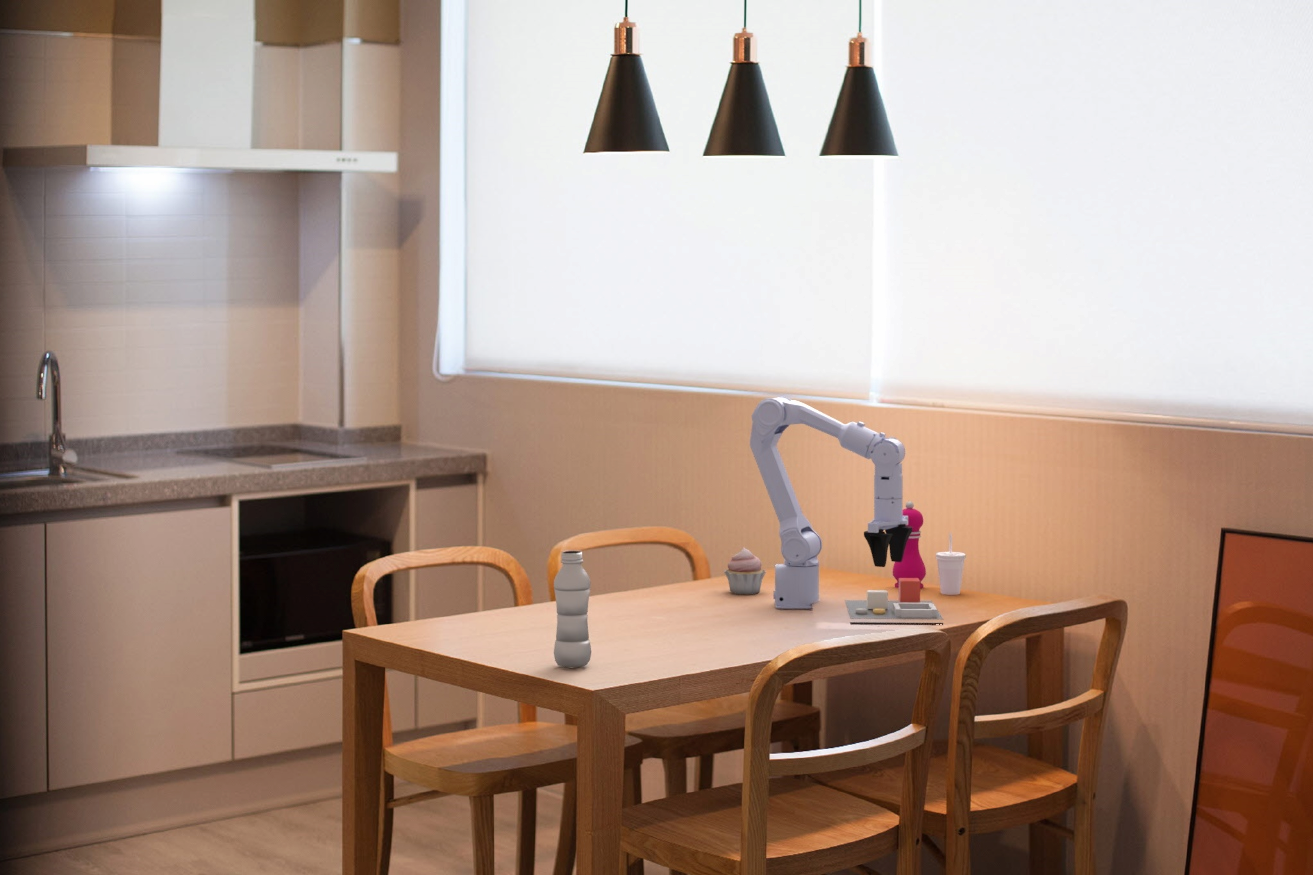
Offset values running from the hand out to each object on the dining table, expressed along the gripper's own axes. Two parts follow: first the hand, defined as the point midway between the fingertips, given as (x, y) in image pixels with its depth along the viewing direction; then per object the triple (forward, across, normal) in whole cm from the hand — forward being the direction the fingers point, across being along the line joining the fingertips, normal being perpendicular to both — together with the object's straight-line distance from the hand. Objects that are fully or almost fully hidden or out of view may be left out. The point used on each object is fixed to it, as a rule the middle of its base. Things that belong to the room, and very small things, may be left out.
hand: (888, 564), depth 314 cm
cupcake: (+10, +4, +37) cm, 38 cm away
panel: (+10, -3, -2) cm, 11 cm away
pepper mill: (+10, +24, +7) cm, 27 cm away
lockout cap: (+9, +5, -2) cm, 10 cm away
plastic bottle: (+10, -76, +23) cm, 80 cm away
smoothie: (+10, +21, -4) cm, 24 cm away
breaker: (+8, -4, 0) cm, 9 cm away
